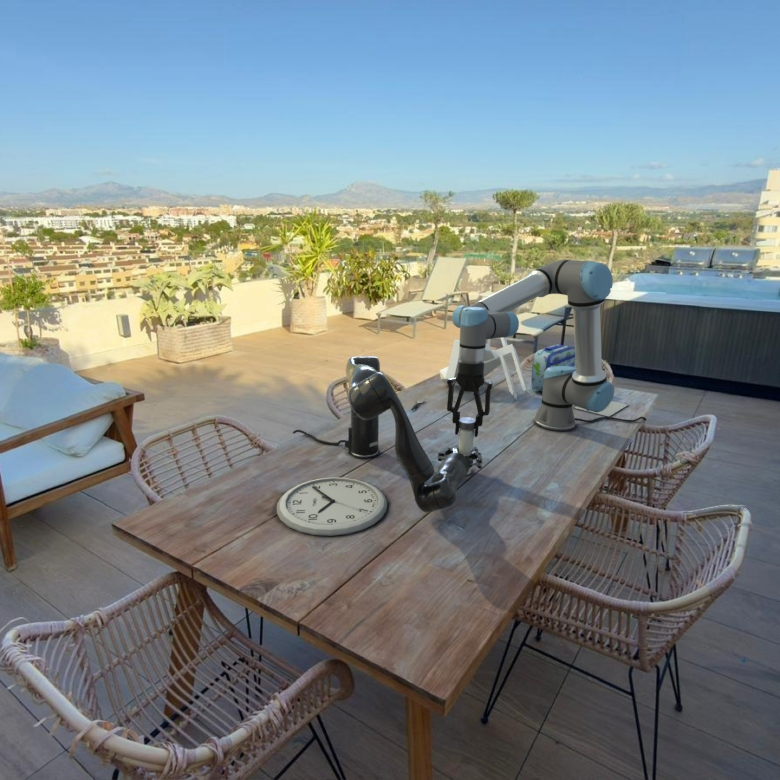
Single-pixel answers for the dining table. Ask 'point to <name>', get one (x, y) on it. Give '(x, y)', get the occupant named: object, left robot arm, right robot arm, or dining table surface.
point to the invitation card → (608, 408)
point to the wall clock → (331, 506)
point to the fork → (418, 402)
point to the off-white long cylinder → (466, 442)
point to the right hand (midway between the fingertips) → (466, 434)
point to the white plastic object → (489, 364)
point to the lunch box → (550, 362)
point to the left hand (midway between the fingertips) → (467, 448)
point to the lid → (466, 423)
